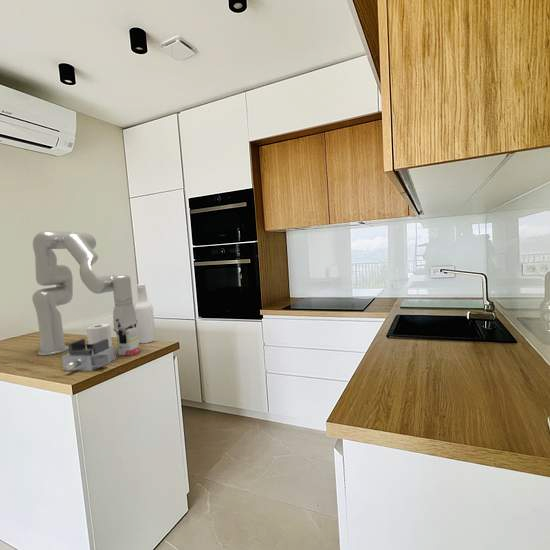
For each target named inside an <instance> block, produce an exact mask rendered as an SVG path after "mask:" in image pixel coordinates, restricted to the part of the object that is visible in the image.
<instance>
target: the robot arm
mask: <svg viewBox="0 0 550 550" xmlns="http://www.w3.org/2000/svg"><path fill="white" fill-rule="evenodd" d="M96 240H97V239H96V238H95V236H93V235H92V234H90V233H87V232H76V231H63V230H62V231H61V230H60V231H59V230H57V231H56V230H54V231H53V230H46V231H40V232H38V233H37V234H36V235H35V236H34V237H33V240H32V249H33V252H34V258H35V263H34V265H35V281H36V283H37V284H38V285H39V286H44V287H45V286H51V287H47V288H46V287H45V288H41V289H38V290H36V291H35V292H34V293H33V294H32V300H31V301H32V303H33V306H34V309H35V312H36V316H37V324H38V330H39V332H38V333H39V337H40V339H39V340H40V343H39V344H38V345H36V349H37V348H38V349H40V350H39V351H38V352H37V354H38V355H39V356H51V355H57V354H60V353H64V352H66V351H69V346H68V345H66V343H65V338H64V327H63V320H62V314H61V312H60V310H59V309H58V308H57V307H58V306H63V305H67V304H69V303H70V302H71V301H72V299H73V294H74V293H73V287H74V285H73V283H74V282H73V280H74V279H73V273H72V270H71V268H69V267H68V266H67V265H66V264H58V258H57V257H58V256H57V255H56V254H55V252H54V250H67V251H68V252H69V254H70V255H72V258H74V260H75V261H76V263H77V264H78V265H79V270H78V271H79V276H80V280H81V281H82V283H83V284H84V285H85V287H86V288H87V289H88V290H89V291H90V292H91V293H93V294H97V295H98V294H105V293H110V292H113V300H114V301H113V302H114V307H113V312H112V313H113V315H112V316H113V317H112V318H113V320H112V323H113V331H114V332H115V334H116V333H117V334H118V335H119V341H120V344H126V343H127V342H126V335H124V334H125V328H136V325H137V323H138V321H137V320H136V314H135V305H134V300H133V291H132V282H131V276H130V275H128V274H122V275H121V274H119V275H114V274H110V275H100V276H98V275H97V274H96V272H94V270H93V268H92V266H93V265H95V263H96V262H97V261H98V259H99V255H98V254H97V252H96V251H95V250H94V249H95V248H96V246H97V241H96ZM121 329H122V331H121Z"/></svg>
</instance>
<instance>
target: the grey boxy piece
mask: <svg viewBox="0 0 550 550" xmlns="http://www.w3.org/2000/svg"><path fill="white" fill-rule="evenodd" d="M67 346H69V349H68V353H66V354H62V355H61V360H62V361H61V362H62V369H63V371H67V372H68V371H74V372H75V371H76V372H77V370H78V372H94V371H96V370H97V369H100V368H101V367H103V366H105V364H106V365H107V364H109V363H112V362H113V360H114V361H115V359H116V360H117V359H118V358H117V352H116V350H117V348H116V345H112V346H109V344H108V339H104V340H101V341H99V342H96V343H94V344H88V343H87V344H86V339H85V338H81V339H78V340H75V341H73V342H70V343H68V345H67ZM111 361H112V362H111Z"/></svg>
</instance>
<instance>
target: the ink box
mask: <svg viewBox="0 0 550 550" xmlns="http://www.w3.org/2000/svg"><path fill="white" fill-rule="evenodd" d="M121 331H122V329H121ZM115 335H116V343H117V344H116V345H117V353H118V355H119V356H131V357H132V356H135V355H137V354H139V353H140V346H139V345H140V343H139V342H138V334H137V328H128V327H127V328H125V334H124V335H126V342H127V343H126V344H120V341H119V335H118V334H117V333H116V332H115Z"/></svg>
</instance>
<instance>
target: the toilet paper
mask: <svg viewBox="0 0 550 550" xmlns="http://www.w3.org/2000/svg"><path fill="white" fill-rule="evenodd" d="M85 329H86V335H87V336H86V337H87V344H94V343H96V342H99V341H101V340H104V339H108V344H109V346H113V341H112V340H113V339H112V332H111V325H110V323H100V324H93V325H89V326H86V328H85Z"/></svg>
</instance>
